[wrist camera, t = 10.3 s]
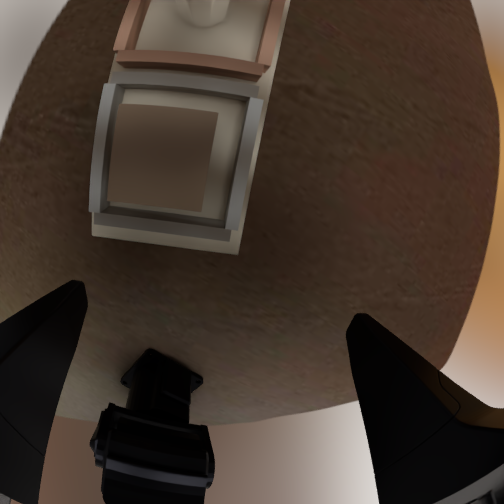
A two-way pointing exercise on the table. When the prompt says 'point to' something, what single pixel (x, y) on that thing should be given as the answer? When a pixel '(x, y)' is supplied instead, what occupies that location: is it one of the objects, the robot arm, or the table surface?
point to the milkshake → (204, 11)
